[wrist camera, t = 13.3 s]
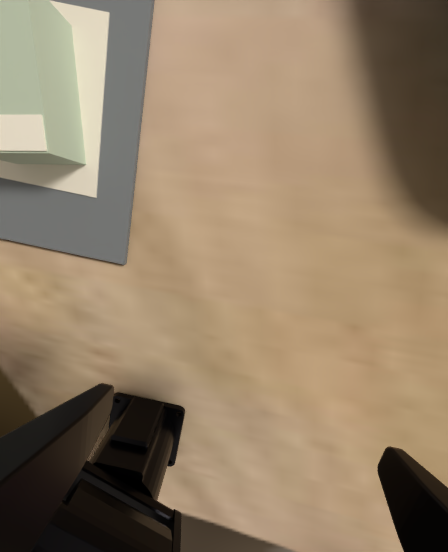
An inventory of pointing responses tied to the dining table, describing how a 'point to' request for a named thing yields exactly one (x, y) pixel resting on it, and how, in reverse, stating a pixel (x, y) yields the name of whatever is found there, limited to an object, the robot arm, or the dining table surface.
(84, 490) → the robot arm
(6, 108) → the sage block
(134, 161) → the placemat
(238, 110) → the dining table surface
